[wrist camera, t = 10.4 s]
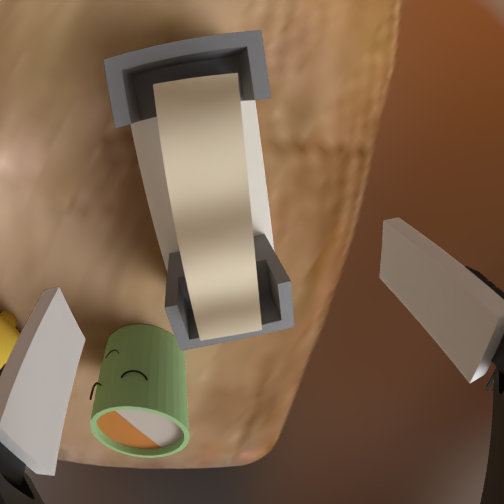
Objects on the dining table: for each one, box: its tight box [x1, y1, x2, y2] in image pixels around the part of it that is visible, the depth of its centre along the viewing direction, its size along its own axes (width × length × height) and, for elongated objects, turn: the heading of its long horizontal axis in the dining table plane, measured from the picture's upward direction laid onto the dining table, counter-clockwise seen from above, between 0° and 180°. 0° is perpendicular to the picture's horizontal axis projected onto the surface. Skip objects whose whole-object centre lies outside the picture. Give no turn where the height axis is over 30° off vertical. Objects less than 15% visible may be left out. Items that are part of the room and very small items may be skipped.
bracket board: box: [104, 30, 294, 351], centre depth 25 cm, size 23×11×10 cm, turn 8°
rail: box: [153, 73, 262, 341], centre depth 22 cm, size 17×4×6 cm, turn 5°
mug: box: [90, 324, 190, 458], centre depth 32 cm, size 13×10×12 cm
